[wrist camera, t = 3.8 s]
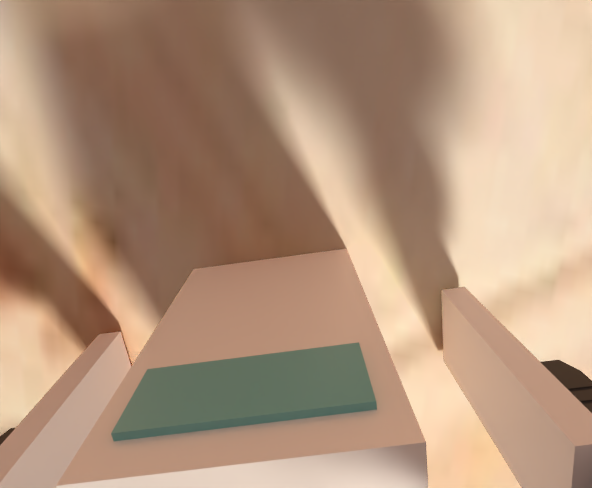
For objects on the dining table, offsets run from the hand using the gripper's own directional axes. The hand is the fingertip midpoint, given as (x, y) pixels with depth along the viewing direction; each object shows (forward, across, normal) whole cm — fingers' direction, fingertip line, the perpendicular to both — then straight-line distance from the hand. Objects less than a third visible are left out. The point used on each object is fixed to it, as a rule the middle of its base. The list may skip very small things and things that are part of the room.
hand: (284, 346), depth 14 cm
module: (0, 0, 0) cm, 0 cm away
